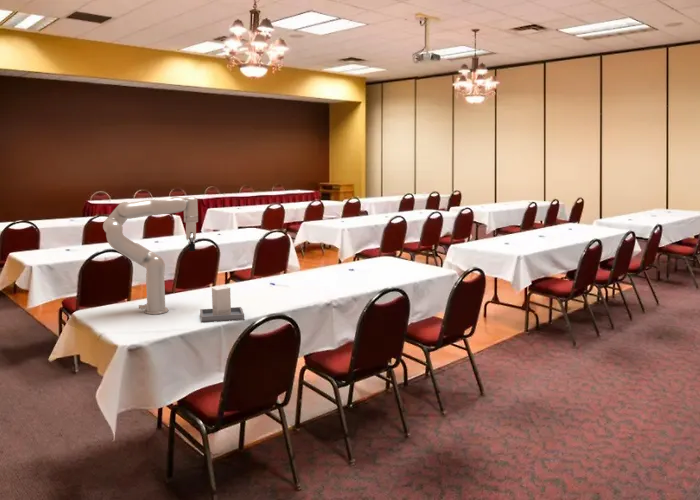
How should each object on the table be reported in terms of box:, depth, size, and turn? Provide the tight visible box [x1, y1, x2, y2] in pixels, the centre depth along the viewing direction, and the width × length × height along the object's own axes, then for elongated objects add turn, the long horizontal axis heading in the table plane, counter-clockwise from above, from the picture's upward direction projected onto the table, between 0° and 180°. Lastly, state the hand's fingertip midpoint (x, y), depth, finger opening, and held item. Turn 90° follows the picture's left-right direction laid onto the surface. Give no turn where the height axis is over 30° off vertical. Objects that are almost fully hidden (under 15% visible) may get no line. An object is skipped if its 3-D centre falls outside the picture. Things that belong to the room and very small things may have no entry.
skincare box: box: [211, 285, 232, 316], centre depth 329 cm, size 8×7×16 cm
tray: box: [199, 306, 245, 323], centre depth 330 cm, size 22×16×3 cm
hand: (191, 249), depth 345 cm, fingers open, 9 cm apart
